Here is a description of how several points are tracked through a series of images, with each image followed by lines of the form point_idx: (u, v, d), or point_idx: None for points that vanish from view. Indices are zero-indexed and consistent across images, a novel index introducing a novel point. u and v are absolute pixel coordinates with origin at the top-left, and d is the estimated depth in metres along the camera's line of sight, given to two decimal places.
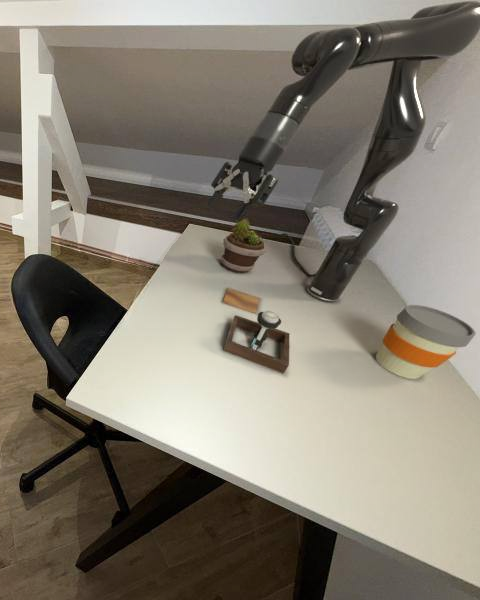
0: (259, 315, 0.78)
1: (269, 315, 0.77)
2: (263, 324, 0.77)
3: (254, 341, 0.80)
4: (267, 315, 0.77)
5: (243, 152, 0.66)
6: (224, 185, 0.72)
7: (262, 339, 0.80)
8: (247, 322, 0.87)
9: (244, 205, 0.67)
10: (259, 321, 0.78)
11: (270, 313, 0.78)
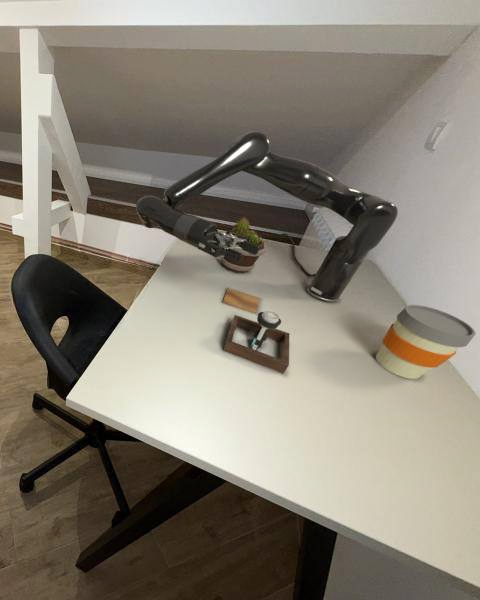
0: (259, 315, 0.78)
1: (269, 315, 0.77)
2: (263, 324, 0.77)
3: (254, 341, 0.80)
4: (267, 315, 0.77)
5: None
6: (233, 247, 0.82)
7: (262, 339, 0.80)
8: (247, 322, 0.87)
9: None
10: (259, 321, 0.78)
11: (270, 313, 0.78)
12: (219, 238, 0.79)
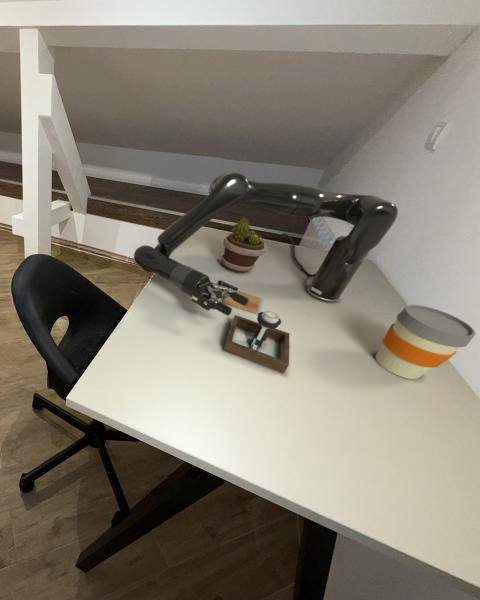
0: (259, 315, 0.78)
1: (269, 315, 0.77)
2: (263, 324, 0.77)
3: (254, 341, 0.80)
4: (267, 315, 0.77)
5: None
6: (224, 297, 0.89)
7: (262, 339, 0.80)
8: (247, 322, 0.87)
9: None
10: (259, 321, 0.78)
11: (270, 313, 0.78)
12: (210, 291, 0.85)
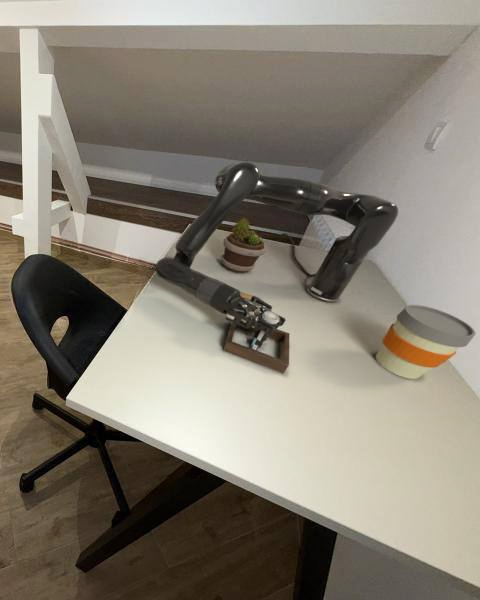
0: (260, 316, 0.78)
1: (270, 316, 0.76)
2: None
3: (254, 341, 0.80)
4: (268, 316, 0.76)
5: None
6: (257, 315, 0.82)
7: (262, 339, 0.80)
8: None
9: None
10: None
11: (271, 314, 0.77)
12: (244, 307, 0.79)
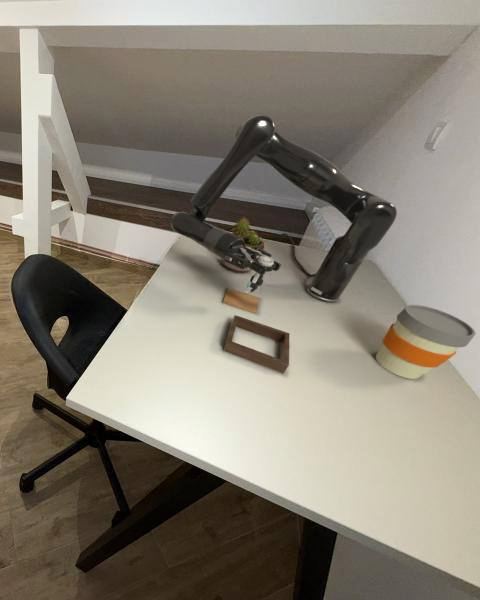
0: (256, 259, 0.86)
1: (264, 259, 0.84)
2: None
3: (249, 284, 0.88)
4: (262, 259, 0.84)
5: None
6: None
7: (257, 282, 0.88)
8: (247, 322, 0.87)
9: None
10: None
11: (266, 258, 0.85)
12: (242, 251, 0.88)
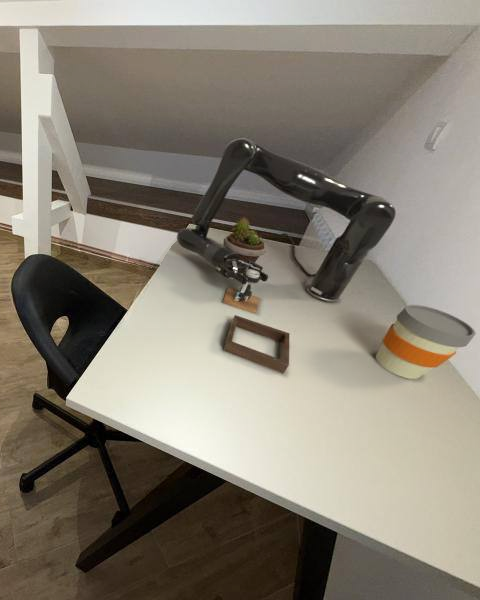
0: (244, 272, 0.97)
1: (251, 272, 0.95)
2: None
3: (238, 293, 0.99)
4: (249, 271, 0.95)
5: None
6: None
7: (245, 293, 0.98)
8: (247, 322, 0.87)
9: None
10: None
11: (253, 271, 0.96)
12: (234, 264, 0.99)
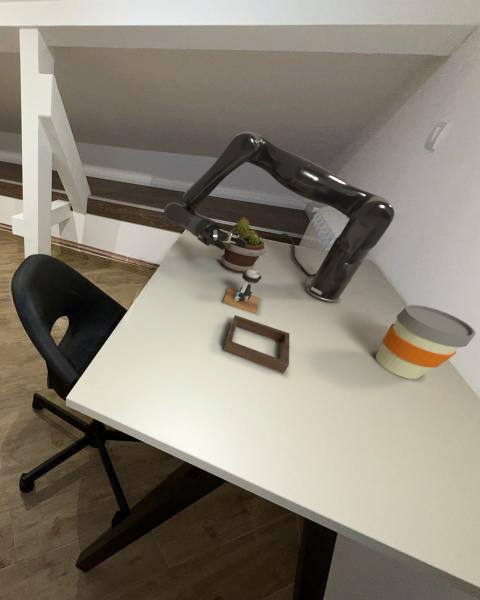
0: (244, 272, 0.97)
1: (251, 272, 0.95)
2: (245, 278, 0.96)
3: (238, 293, 0.99)
4: (249, 271, 0.95)
5: None
6: (229, 242, 1.06)
7: (245, 293, 0.98)
8: (247, 322, 0.87)
9: None
10: (242, 276, 0.97)
11: (253, 271, 0.96)
12: (215, 232, 1.04)
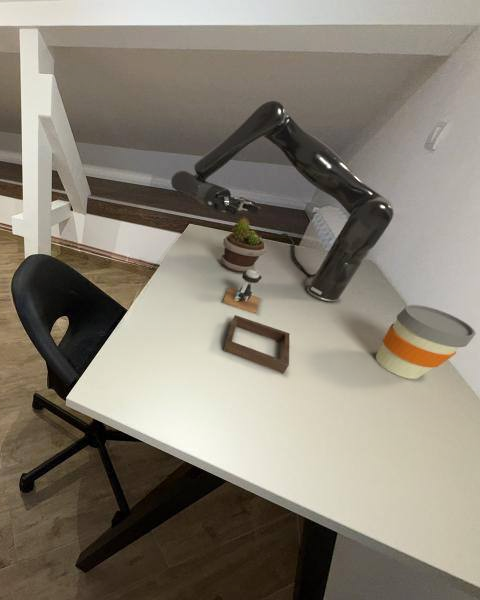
0: (244, 272, 0.97)
1: (251, 272, 0.95)
2: (245, 278, 0.96)
3: (238, 293, 0.99)
4: (249, 271, 0.95)
5: None
6: (240, 209, 1.00)
7: (245, 293, 0.98)
8: (247, 322, 0.87)
9: None
10: (242, 276, 0.97)
11: (253, 271, 0.96)
12: (226, 198, 0.98)
